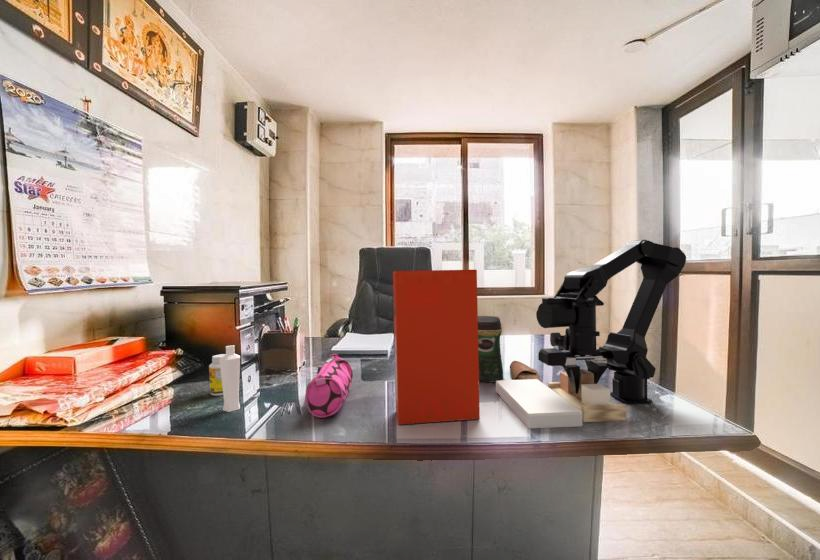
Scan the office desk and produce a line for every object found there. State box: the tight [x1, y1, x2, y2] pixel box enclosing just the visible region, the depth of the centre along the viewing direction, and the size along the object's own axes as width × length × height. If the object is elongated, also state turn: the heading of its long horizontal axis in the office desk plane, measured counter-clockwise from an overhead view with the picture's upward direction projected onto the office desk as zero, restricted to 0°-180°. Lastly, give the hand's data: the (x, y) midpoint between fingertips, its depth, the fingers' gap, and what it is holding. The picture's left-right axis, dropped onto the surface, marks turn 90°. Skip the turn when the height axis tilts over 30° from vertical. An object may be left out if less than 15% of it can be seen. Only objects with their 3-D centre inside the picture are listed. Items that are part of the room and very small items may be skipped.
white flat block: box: [495, 379, 583, 430], centre depth 82 cm, size 11×22×3 cm, turn 3°
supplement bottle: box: [208, 353, 226, 397], centre depth 96 cm, size 6×6×10 cm
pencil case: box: [305, 353, 354, 419], centre depth 87 cm, size 21×10×10 cm, turn 5°
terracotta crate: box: [559, 371, 572, 393], centre depth 87 cm, size 4×4×4 cm
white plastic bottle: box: [219, 344, 241, 413], centre depth 84 cm, size 5×4×15 cm
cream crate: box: [581, 383, 611, 406], centre depth 77 cm, size 4×4×4 cm
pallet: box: [547, 368, 627, 423], centre depth 82 cm, size 9×17×8 cm, turn 3°
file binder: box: [392, 269, 481, 425], centre depth 78 cm, size 8×17×32 cm, turn 97°
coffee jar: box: [478, 315, 504, 383], centre depth 104 cm, size 10×8×19 cm
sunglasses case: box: [509, 360, 542, 382], centre depth 103 cm, size 18×7×7 cm
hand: (582, 392), depth 82 cm, fingers closed on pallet, 3 cm apart
